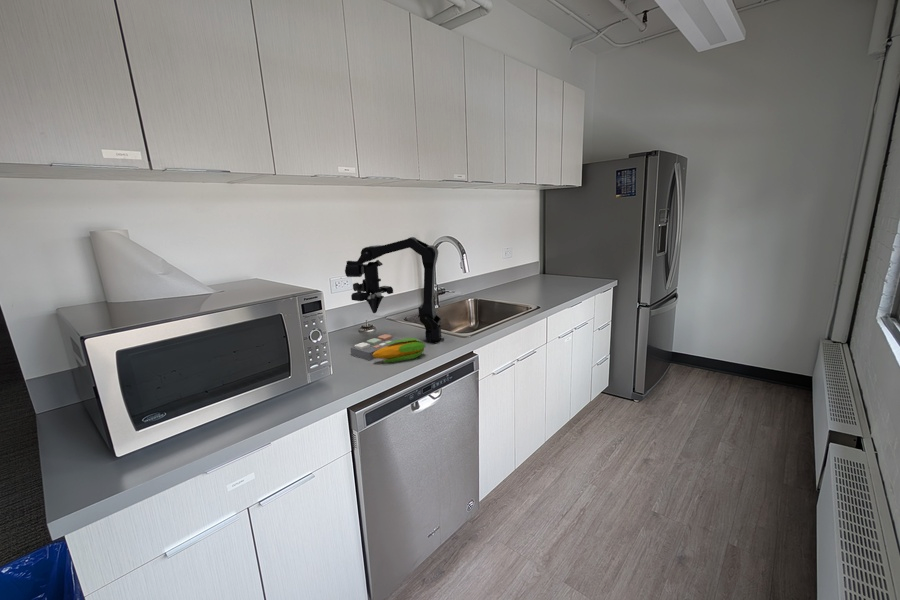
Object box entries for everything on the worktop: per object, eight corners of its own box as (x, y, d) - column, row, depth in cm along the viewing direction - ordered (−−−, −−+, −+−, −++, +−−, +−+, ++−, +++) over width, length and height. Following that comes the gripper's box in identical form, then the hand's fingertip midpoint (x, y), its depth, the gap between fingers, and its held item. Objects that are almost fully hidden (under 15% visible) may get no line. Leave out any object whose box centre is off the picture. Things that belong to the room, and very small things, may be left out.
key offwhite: (363, 350, 159) (362, 342, 158) (370, 352, 156) (369, 344, 156) (355, 353, 156) (354, 345, 155) (362, 355, 153) (361, 347, 152)
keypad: (384, 341, 170) (384, 334, 169) (403, 346, 163) (403, 338, 162) (351, 354, 156) (350, 346, 155) (370, 360, 149) (369, 352, 149)
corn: (427, 338, 148) (373, 347, 141) (428, 357, 150) (375, 367, 142) (420, 334, 155) (369, 342, 148) (422, 353, 156) (371, 362, 149)
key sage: (374, 346, 164) (374, 338, 163) (382, 348, 161) (381, 339, 160) (367, 349, 160) (366, 340, 160) (374, 351, 158) (373, 342, 157)
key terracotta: (385, 342, 168) (384, 334, 167) (392, 343, 166) (392, 335, 165) (378, 344, 165) (377, 336, 164) (385, 346, 162) (384, 338, 162)
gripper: (375, 272, 179) (377, 306, 182) (340, 278, 164) (344, 315, 168) (392, 273, 172) (395, 309, 175) (358, 281, 158) (362, 319, 161)
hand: (374, 313), depth 170 cm, fingers closed
